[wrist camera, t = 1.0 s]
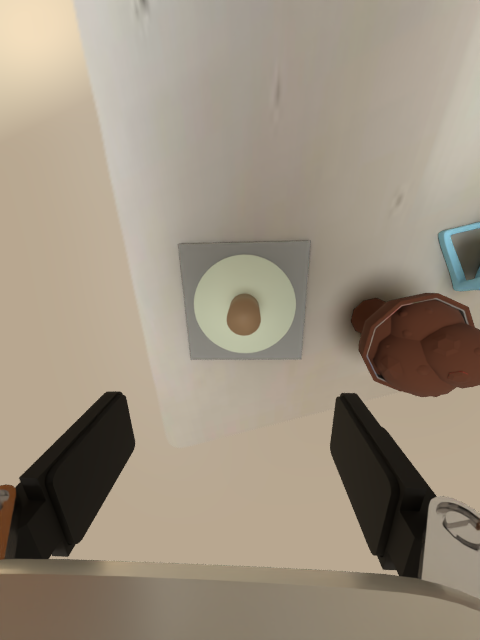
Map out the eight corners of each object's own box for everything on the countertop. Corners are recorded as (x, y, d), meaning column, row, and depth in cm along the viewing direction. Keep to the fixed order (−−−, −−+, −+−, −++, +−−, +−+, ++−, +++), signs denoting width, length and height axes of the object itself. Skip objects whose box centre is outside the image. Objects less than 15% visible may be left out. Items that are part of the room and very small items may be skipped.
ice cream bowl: (357, 266, 30) (456, 290, 15) (428, 298, 31) (581, 347, 16) (317, 334, 33) (369, 404, 19) (382, 360, 34) (477, 445, 20)
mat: (179, 243, 29) (177, 243, 29) (309, 240, 29) (310, 240, 28) (191, 357, 35) (190, 359, 35) (300, 357, 34) (301, 359, 34)
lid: (190, 255, 29) (177, 258, 24) (297, 253, 29) (309, 256, 23) (199, 350, 34) (190, 371, 29) (292, 350, 33) (300, 372, 28)
